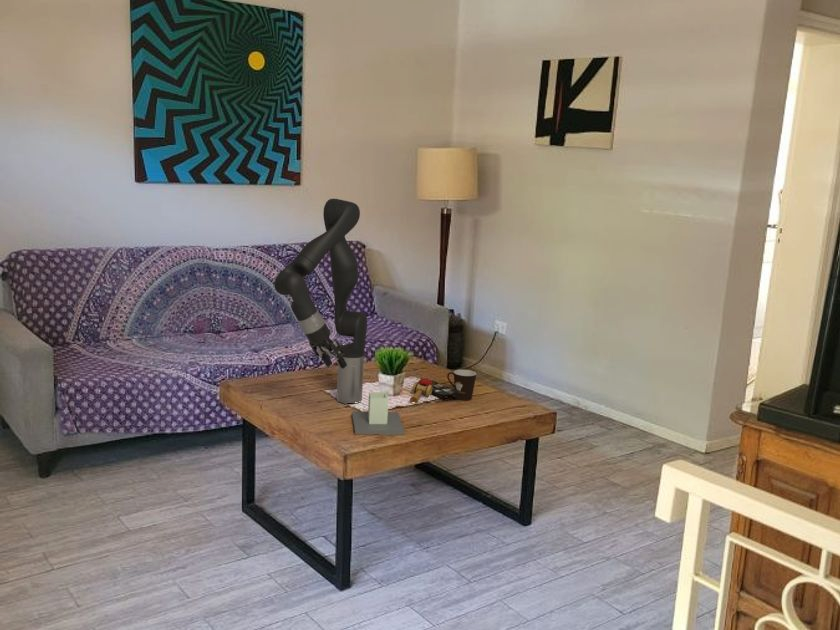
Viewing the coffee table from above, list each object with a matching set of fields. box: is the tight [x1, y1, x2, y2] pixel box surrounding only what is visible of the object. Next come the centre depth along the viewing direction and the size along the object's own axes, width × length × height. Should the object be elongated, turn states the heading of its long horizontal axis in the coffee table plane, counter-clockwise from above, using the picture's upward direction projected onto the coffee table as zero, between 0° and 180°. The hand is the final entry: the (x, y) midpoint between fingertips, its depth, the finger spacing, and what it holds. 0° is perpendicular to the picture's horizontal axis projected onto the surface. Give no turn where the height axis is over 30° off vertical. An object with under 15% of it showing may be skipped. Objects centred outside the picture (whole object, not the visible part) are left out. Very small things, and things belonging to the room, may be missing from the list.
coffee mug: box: [446, 369, 477, 402], centre depth 304 cm, size 12×9×10 cm
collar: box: [367, 391, 389, 424], centre depth 267 cm, size 6×6×9 cm
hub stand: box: [351, 411, 405, 436], centre depth 268 cm, size 18×16×9 cm
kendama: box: [409, 377, 434, 404], centre depth 301 cm, size 8×6×18 cm
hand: (337, 366), depth 265 cm, fingers open, 8 cm apart
